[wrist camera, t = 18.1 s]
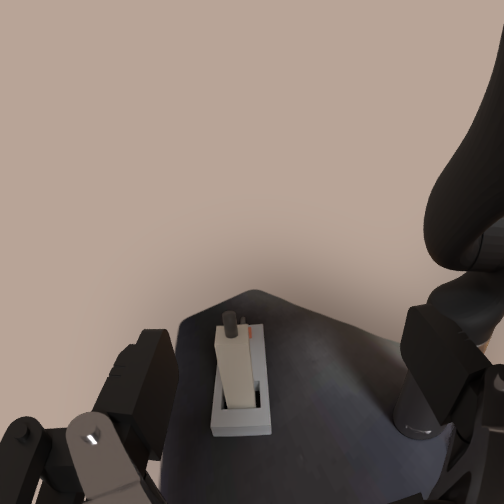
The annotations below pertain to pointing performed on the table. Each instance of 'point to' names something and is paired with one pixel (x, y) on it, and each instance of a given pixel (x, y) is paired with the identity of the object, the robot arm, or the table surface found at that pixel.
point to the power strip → (255, 418)
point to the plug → (235, 362)
